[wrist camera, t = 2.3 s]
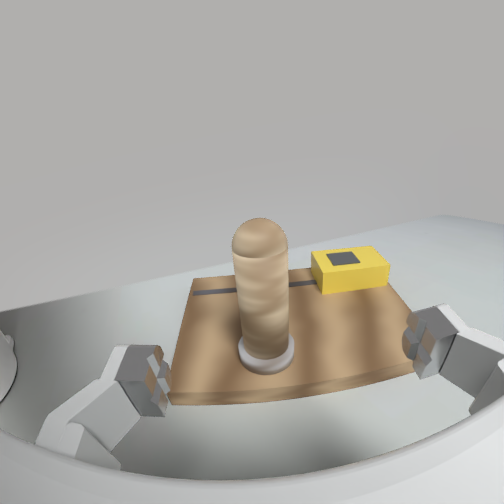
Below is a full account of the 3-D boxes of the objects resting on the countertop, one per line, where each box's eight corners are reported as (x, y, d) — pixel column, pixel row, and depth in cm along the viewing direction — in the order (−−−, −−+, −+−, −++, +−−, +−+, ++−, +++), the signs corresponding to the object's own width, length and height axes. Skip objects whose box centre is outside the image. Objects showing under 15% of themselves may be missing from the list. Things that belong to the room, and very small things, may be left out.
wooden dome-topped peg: (240, 377, 22) (219, 235, 17) (239, 339, 27) (223, 212, 22) (298, 371, 22) (300, 228, 17) (289, 335, 27) (287, 207, 22)
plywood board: (172, 404, 22) (165, 391, 21) (195, 290, 40) (193, 277, 39) (435, 364, 22) (441, 350, 21) (368, 272, 40) (369, 260, 39)
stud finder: (322, 294, 33) (323, 271, 32) (311, 271, 38) (311, 250, 37) (386, 285, 33) (390, 263, 32) (369, 264, 39) (371, 244, 37)
